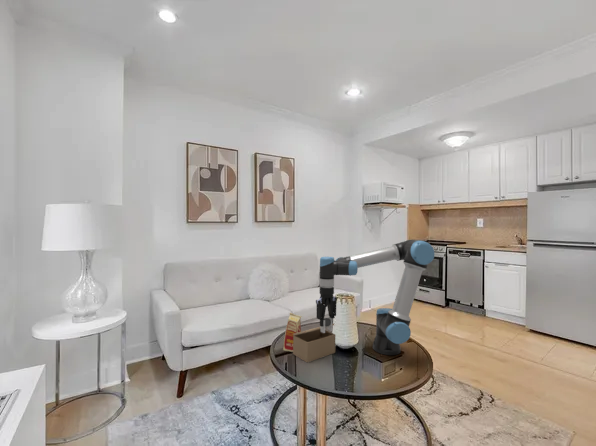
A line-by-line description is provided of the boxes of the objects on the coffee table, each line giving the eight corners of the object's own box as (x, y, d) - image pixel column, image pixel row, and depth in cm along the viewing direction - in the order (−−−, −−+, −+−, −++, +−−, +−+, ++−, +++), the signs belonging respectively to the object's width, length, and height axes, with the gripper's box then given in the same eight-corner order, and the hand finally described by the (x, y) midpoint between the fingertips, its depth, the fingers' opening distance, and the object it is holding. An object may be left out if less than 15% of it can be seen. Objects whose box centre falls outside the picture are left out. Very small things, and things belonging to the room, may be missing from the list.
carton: (335, 352, 160) (335, 334, 161) (307, 362, 148) (307, 343, 148) (320, 345, 170) (320, 328, 170) (293, 354, 158) (293, 335, 158)
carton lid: (344, 322, 155) (341, 313, 157) (315, 330, 143) (313, 320, 145) (320, 327, 170) (318, 319, 172) (293, 335, 158) (291, 326, 160)
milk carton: (283, 350, 163) (283, 314, 163) (288, 343, 171) (289, 309, 171) (298, 352, 160) (299, 316, 160) (303, 346, 168) (304, 311, 168)
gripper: (333, 283, 160) (333, 325, 160) (309, 287, 150) (308, 332, 150) (343, 285, 155) (343, 329, 154) (319, 289, 144) (318, 337, 144)
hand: (326, 331), depth 152 cm, fingers closed on carton lid, 4 cm apart
